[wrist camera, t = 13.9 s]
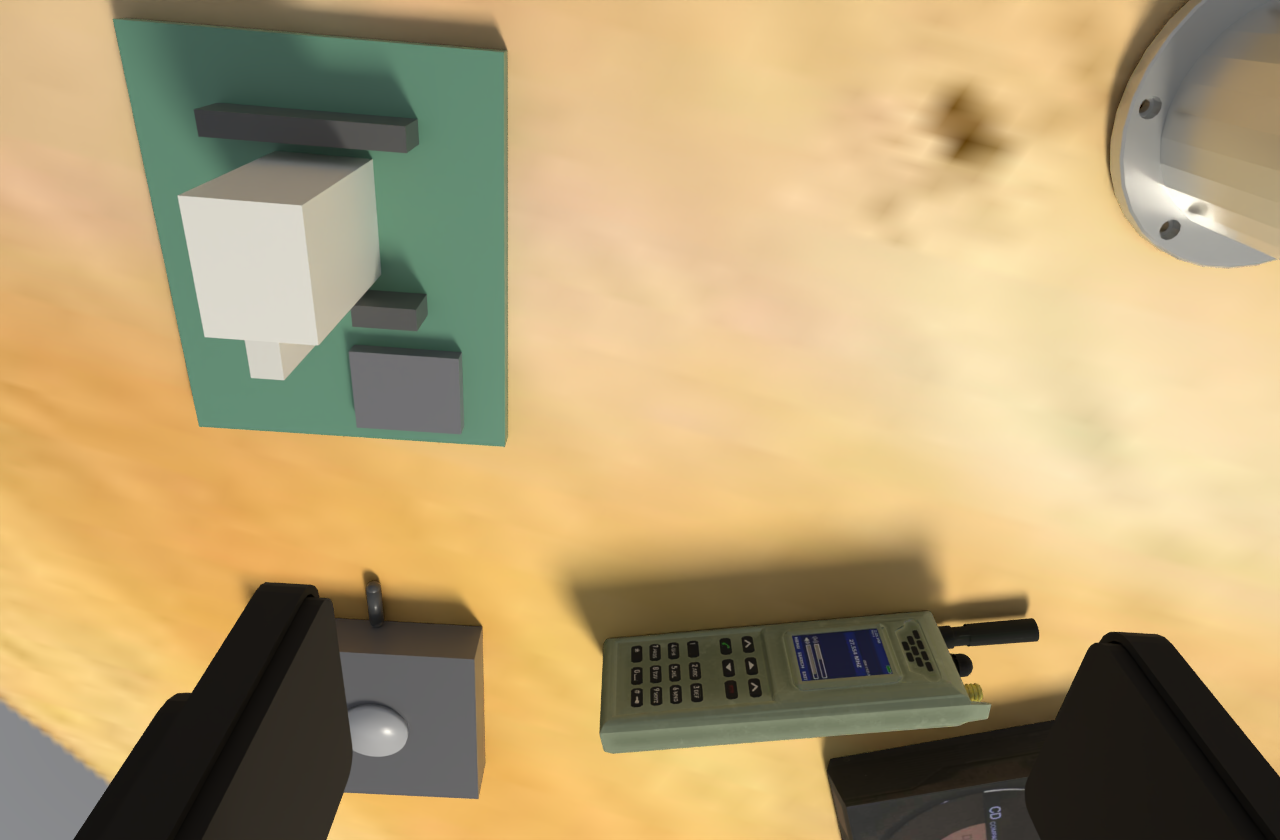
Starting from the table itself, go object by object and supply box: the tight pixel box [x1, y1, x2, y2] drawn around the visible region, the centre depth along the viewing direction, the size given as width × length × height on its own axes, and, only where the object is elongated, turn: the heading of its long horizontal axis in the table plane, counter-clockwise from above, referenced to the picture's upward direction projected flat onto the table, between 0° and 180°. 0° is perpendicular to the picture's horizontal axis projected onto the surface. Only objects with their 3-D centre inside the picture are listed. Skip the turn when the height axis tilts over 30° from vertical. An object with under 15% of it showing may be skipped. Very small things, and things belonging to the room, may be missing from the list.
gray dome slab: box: [335, 581, 485, 799], centre depth 47 cm, size 12×15×3 cm
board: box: [113, 18, 508, 447], centre depth 35 cm, size 15×18×3 cm
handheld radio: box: [600, 611, 1039, 754], centre depth 45 cm, size 7×3×25 cm
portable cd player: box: [827, 720, 1055, 840], centre depth 54 cm, size 16×17×4 cm
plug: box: [178, 151, 381, 380], centre depth 31 cm, size 4×6×8 cm, turn 175°
